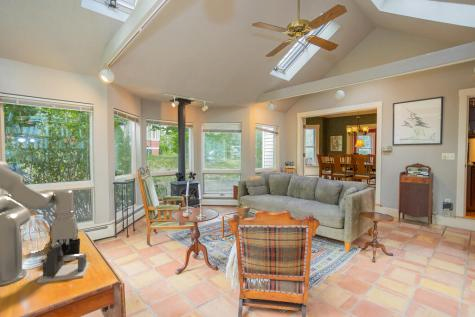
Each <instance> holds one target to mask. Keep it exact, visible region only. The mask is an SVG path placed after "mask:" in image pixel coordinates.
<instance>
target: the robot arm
mask: <svg viewBox="0 0 475 317" xmlns="http://www.w3.org/2000/svg"><path fill="white" fill-rule="evenodd" d="M23 179H24V178H23V176H22V174H20V173H18V172H16V171H13V170H11V169H10V165H9V163H8V162H7V161H5V160H3V159H0V189H1V190H3V191H5V192H6V193H7V194H8V195H9V196H7V195H6V194H2V193H0V286H5V285H9V284H13V283H15V282H18V281H20V280H21V279H24V278H25V277H26V276H27V274H28V272H27V271H28V270H26V269H23V240H22V239H23V238H22V234H21V231H20V228H21V227H22V226H24V225H25V224H27V223H28V222H29V221H30V219H31V212H30V209H32V210H37V211H38V210H43V209H45V208H47V207H49V206H51V205H54V213H52V214H51V217H52V218H54V219H52V221H51V226H52V228H51V239H52V242H58V243H59V244H60V245H61V250H62V251H63V253H67V252H68V250H69V249H70V242H71V241H72V240H75V239H79V235H78V234H79V228H78V222H77V218H76V216H75V207H74V203H75V202H74V191H73V190H72V189H60V190H57V189H45V190H42V191H40V192H39V191H36V190H34V189H31V188H30V186H27V185H26V184H25V182H24V180H23ZM65 239H66V243H65Z"/></svg>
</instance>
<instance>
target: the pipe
mask: <svg viewBox="0 0 475 317" xmlns="http://www.w3.org/2000/svg"><path fill="white" fill-rule="evenodd" d="M69 260H72V261H77V264H78V272H81V271H84V269H85V268H86V263H87V253H84V252H83V253H79V254H75V255H65V256H58V262H60V261H67V262H70V261H69ZM42 275H43V276H47V257H45V258H44V261H43V262H42Z"/></svg>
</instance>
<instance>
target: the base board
mask: <svg viewBox="0 0 475 317" xmlns="http://www.w3.org/2000/svg"><path fill="white" fill-rule="evenodd" d="M90 265H91V261H89V262H88V261H87V262H86V268H85V269H84V271H81V272H78V263H73V264H63V266H62V267H61V268H60V270H59V271H58V272H57V274H56V275H55V276H50V277H47V276H43V274H42V275H41V276H40V277H39V278H38V279H37V281H36V284H43V283H44V284H45V283H51V282H58V281H64V280H72V279H79V278H84V277H85V274H86V272H87V271H88V269H89V267H90Z"/></svg>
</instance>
